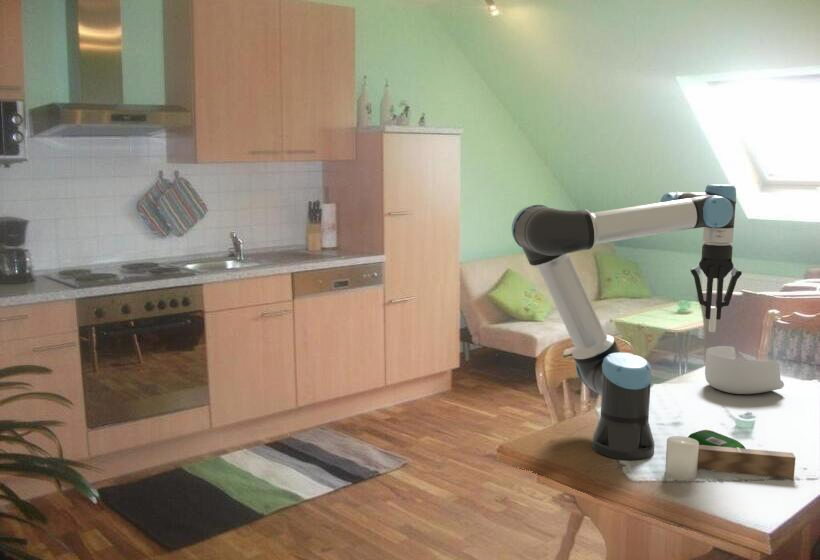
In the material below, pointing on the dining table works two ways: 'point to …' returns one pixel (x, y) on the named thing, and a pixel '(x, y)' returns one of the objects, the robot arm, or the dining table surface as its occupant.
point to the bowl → (740, 372)
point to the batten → (746, 461)
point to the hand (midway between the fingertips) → (711, 331)
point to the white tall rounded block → (681, 457)
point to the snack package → (715, 439)
